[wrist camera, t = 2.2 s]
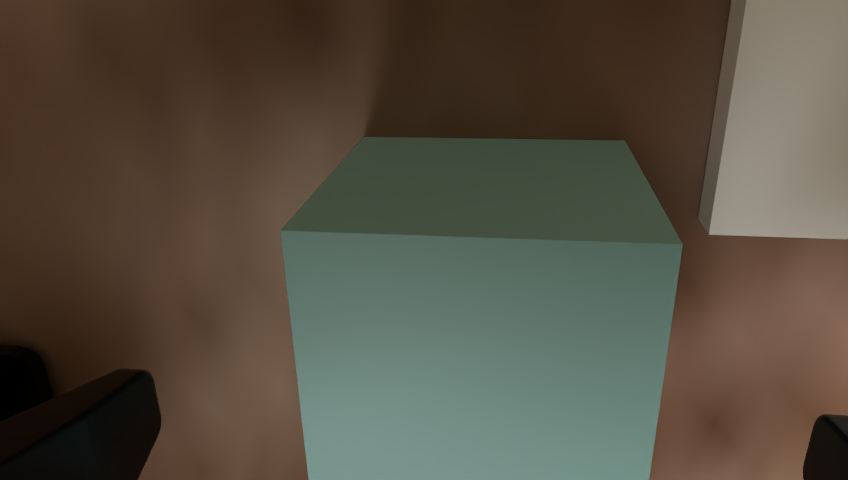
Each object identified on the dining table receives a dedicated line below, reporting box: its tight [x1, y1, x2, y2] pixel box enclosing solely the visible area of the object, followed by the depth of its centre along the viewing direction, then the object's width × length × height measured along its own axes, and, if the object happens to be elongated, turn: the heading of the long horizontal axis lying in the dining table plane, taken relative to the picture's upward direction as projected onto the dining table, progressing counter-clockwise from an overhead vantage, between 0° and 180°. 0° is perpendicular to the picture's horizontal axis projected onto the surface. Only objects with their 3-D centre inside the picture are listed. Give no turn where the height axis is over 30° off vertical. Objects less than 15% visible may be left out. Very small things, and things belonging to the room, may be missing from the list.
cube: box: [280, 137, 683, 480], centre depth 11 cm, size 5×5×5 cm
